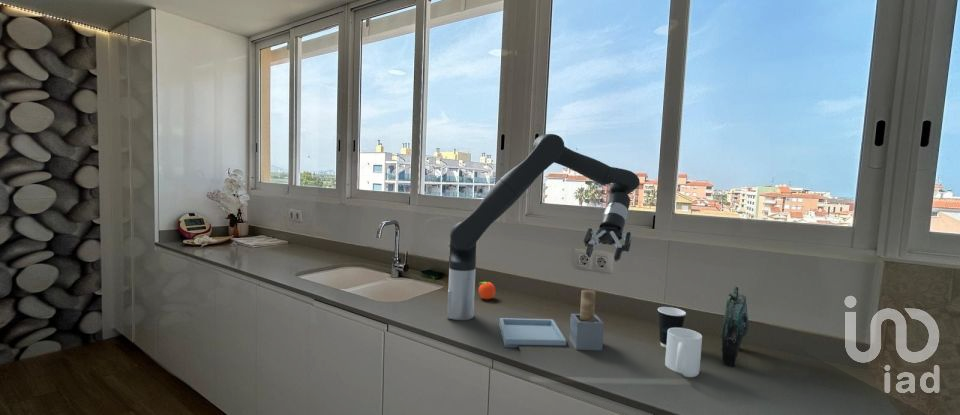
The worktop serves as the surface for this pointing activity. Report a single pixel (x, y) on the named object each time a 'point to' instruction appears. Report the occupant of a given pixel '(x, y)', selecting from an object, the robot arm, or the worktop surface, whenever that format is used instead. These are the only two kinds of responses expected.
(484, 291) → the clementine
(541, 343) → the tray
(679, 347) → the mug
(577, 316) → the light blue hollow box
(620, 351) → the worktop surface
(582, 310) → the pin
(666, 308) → the dixie cup
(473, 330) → the worktop surface
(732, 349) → the dark green tall piece
